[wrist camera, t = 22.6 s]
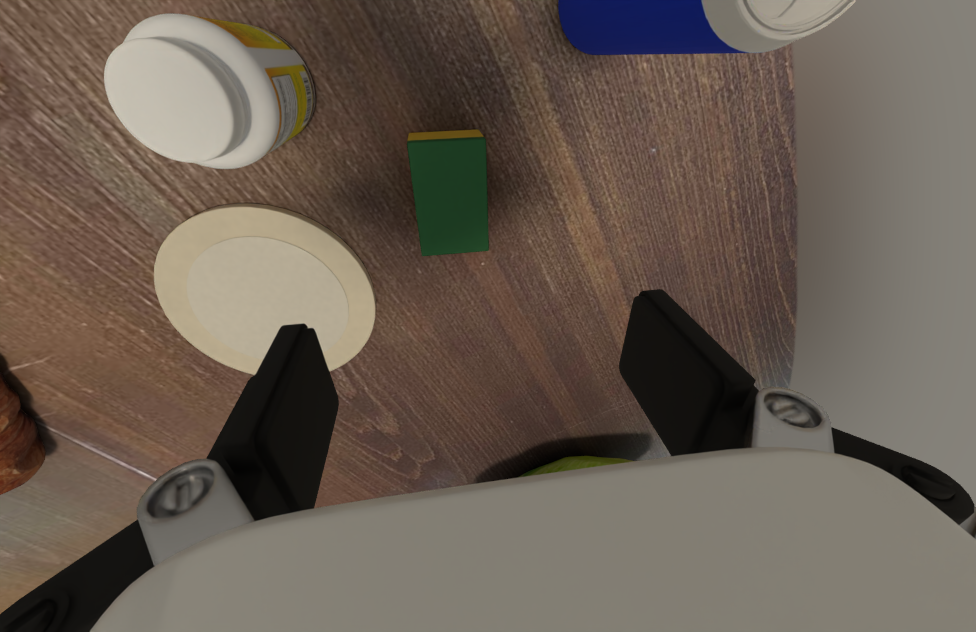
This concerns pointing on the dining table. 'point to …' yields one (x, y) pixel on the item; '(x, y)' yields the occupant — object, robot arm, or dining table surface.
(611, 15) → the beverage can
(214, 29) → the supplement bottle
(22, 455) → the pastry
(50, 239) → the dining table surface
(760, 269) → the dining table surface
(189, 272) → the plate
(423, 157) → the sponge
